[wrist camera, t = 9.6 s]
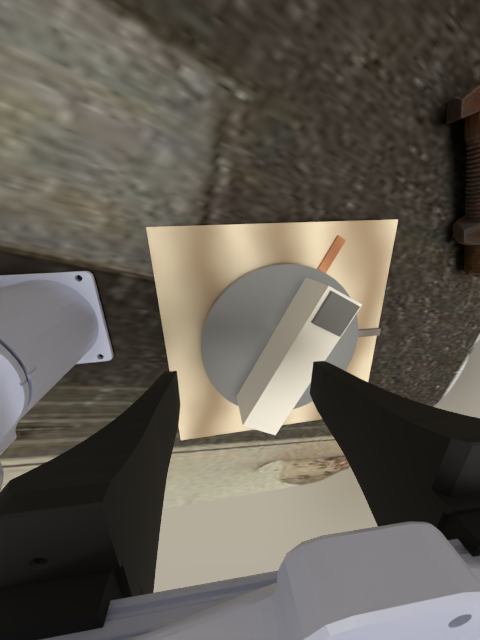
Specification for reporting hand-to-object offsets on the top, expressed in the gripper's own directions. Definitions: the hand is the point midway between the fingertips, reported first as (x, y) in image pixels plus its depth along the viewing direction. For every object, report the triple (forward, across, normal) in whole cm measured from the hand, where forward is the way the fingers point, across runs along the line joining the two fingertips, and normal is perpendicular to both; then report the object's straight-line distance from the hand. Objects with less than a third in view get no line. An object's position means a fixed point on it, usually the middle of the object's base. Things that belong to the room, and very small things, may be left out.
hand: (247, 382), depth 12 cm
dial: (+8, -4, +2) cm, 9 cm away
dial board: (+10, -4, +2) cm, 11 cm away
